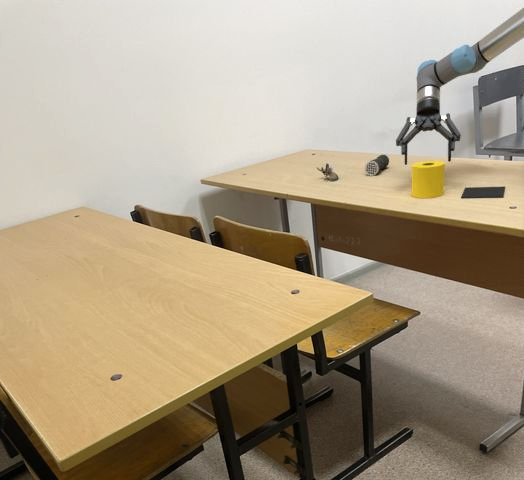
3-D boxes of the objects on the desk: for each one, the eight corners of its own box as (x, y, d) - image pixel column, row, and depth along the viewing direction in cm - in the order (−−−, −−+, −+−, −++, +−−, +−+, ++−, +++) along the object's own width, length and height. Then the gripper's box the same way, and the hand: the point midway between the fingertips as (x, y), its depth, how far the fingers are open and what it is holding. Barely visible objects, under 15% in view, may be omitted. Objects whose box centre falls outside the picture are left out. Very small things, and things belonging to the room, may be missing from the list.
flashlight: (377, 167, 219) (377, 153, 217) (390, 167, 217) (390, 153, 214) (365, 175, 208) (364, 161, 205) (378, 175, 205) (378, 161, 203)
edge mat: (505, 187, 168) (505, 186, 168) (503, 197, 159) (503, 196, 159) (465, 188, 173) (465, 187, 173) (460, 198, 164) (461, 197, 164)
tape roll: (429, 188, 179) (430, 159, 174) (450, 193, 170) (451, 163, 166) (405, 194, 176) (405, 165, 171) (424, 199, 167) (425, 169, 163)
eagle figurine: (312, 177, 212) (322, 176, 204) (319, 159, 211) (328, 158, 203) (328, 184, 215) (338, 184, 207) (334, 167, 214) (345, 166, 206)
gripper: (466, 109, 177) (467, 164, 172) (390, 116, 184) (388, 170, 179) (469, 93, 170) (469, 150, 165) (389, 101, 177) (387, 156, 172)
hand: (427, 160), depth 172 cm, fingers open, 13 cm apart
